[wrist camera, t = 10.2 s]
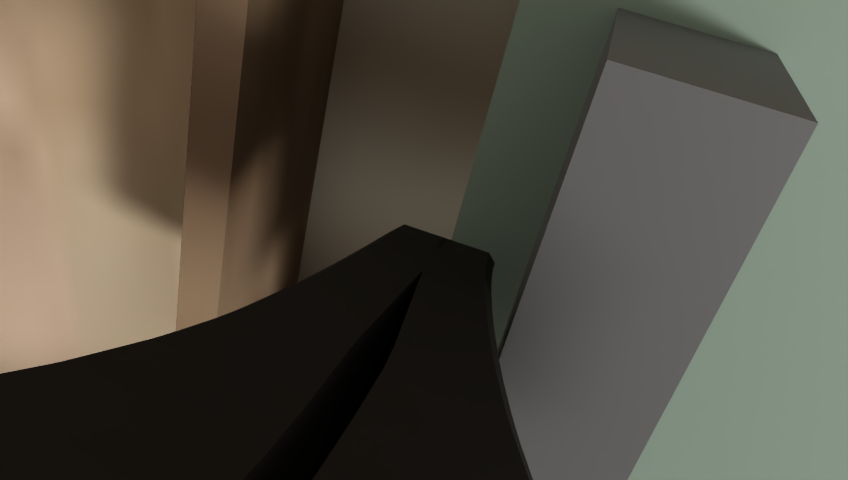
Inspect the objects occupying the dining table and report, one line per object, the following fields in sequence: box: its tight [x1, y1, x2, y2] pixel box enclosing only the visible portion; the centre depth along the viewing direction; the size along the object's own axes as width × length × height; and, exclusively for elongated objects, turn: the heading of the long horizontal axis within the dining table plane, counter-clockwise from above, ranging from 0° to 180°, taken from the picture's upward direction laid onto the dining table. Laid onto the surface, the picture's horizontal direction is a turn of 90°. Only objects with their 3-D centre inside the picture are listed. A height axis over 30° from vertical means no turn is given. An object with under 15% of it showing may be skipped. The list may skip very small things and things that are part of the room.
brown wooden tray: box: [176, 0, 520, 331], centre depth 13 cm, size 12×15×5 cm
